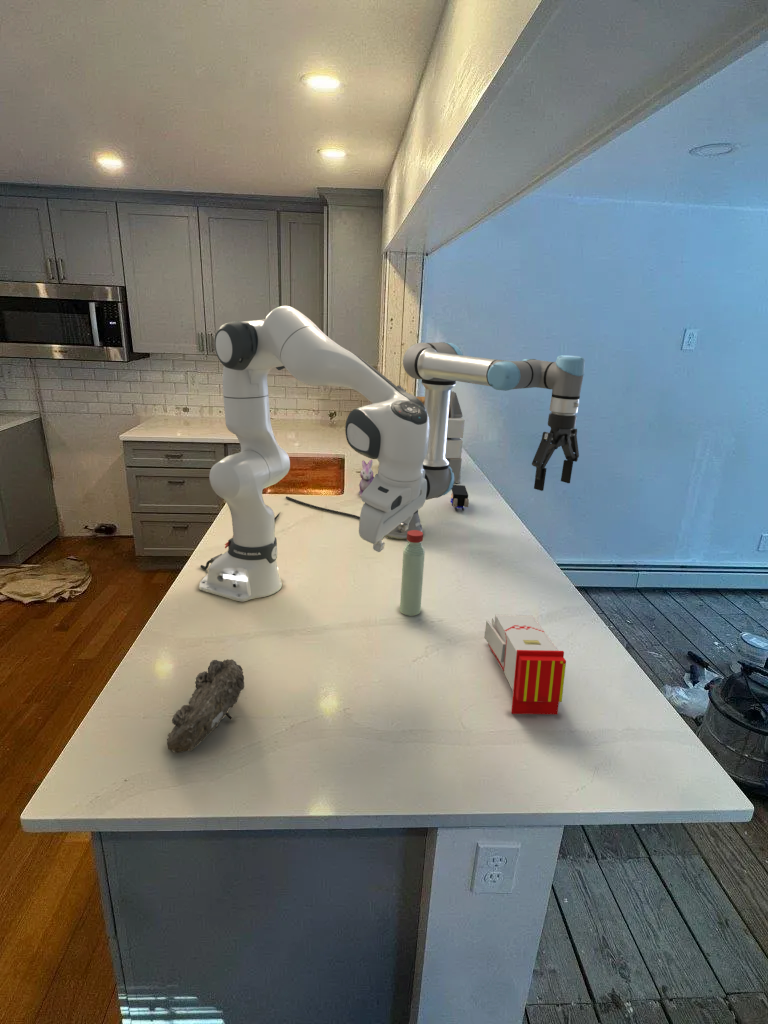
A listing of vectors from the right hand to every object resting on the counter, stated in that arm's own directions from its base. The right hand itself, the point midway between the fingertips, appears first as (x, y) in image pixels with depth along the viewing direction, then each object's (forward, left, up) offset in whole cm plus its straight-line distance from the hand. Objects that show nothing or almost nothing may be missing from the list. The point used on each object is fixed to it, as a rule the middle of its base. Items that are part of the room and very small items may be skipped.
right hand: (552, 485), depth 166 cm
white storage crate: (-101, +46, -28) cm, 115 cm away
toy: (+28, -48, -28) cm, 62 cm away
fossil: (0, -107, -28) cm, 110 cm away
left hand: (+5, -67, +1) cm, 68 cm away
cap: (-7, -48, -6) cm, 49 cm away
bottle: (-7, -48, -28) cm, 56 cm away
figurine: (-88, +4, -28) cm, 93 cm away
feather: (-87, -40, -28) cm, 100 cm away
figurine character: (-56, +25, -28) cm, 67 cm away
